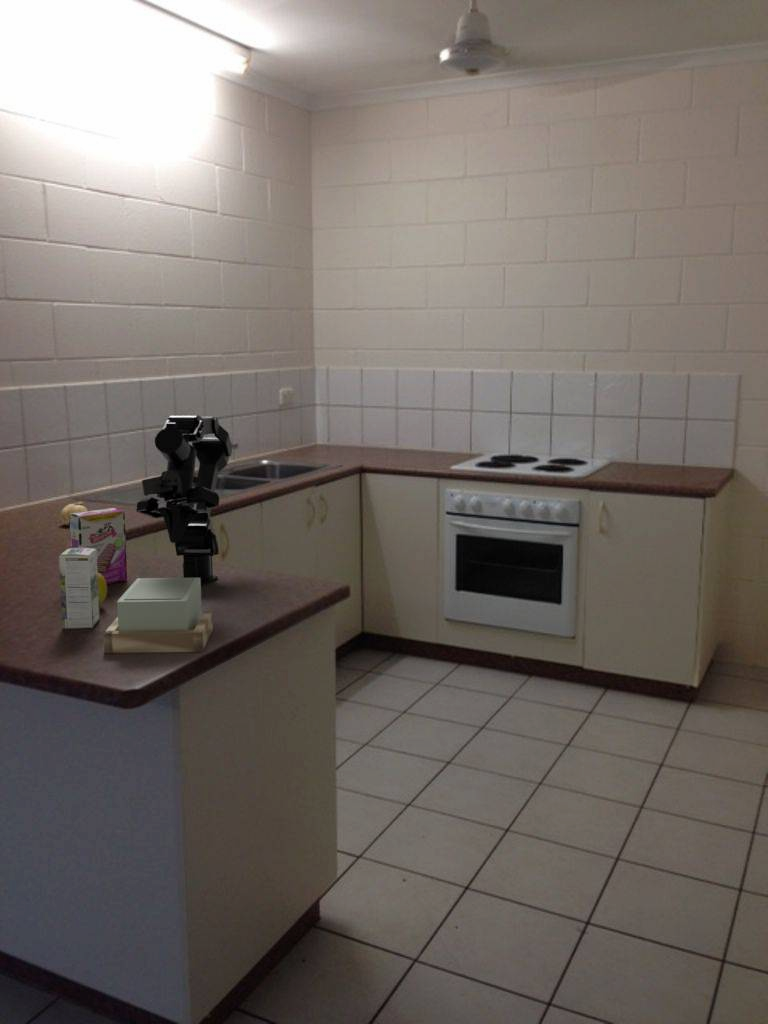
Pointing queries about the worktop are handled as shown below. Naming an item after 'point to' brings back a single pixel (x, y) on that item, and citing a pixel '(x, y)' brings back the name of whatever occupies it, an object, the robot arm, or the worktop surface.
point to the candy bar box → (102, 540)
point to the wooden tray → (158, 638)
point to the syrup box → (79, 588)
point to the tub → (160, 605)
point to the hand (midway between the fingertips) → (173, 542)
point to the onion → (71, 511)
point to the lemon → (102, 588)
